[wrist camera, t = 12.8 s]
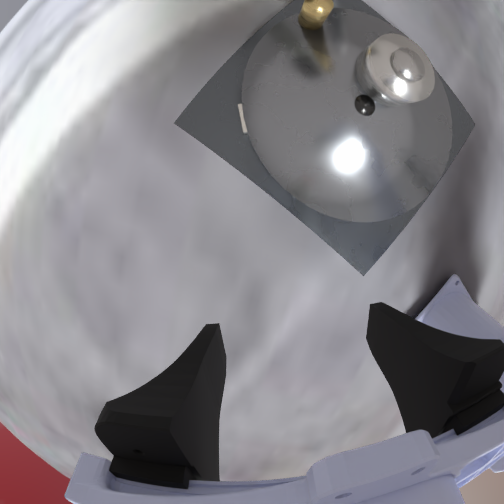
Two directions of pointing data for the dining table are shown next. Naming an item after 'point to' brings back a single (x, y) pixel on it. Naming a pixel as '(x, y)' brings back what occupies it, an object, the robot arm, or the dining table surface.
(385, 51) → the cover
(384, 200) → the turntable
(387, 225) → the base plate
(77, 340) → the dining table surface
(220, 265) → the dining table surface
